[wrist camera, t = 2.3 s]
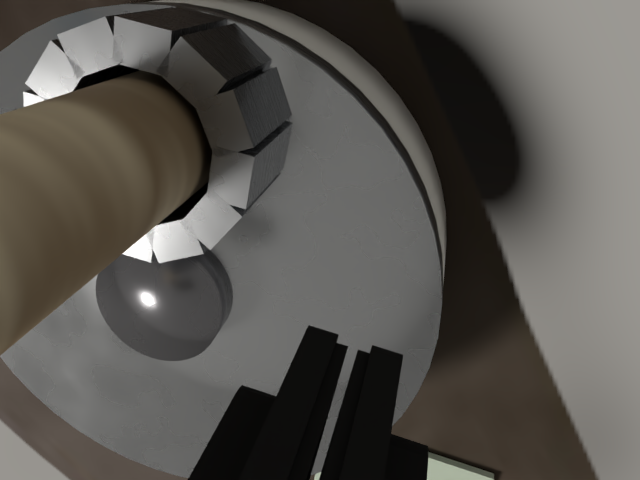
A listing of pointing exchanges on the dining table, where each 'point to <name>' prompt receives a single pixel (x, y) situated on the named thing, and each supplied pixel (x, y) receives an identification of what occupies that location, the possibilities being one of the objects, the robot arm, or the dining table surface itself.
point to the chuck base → (361, 77)
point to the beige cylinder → (88, 186)
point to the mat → (449, 470)
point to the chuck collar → (231, 235)
